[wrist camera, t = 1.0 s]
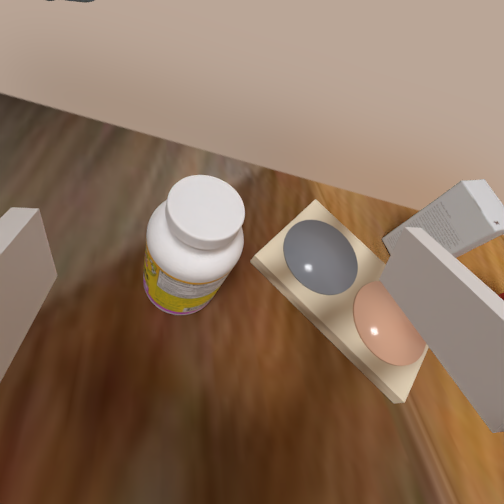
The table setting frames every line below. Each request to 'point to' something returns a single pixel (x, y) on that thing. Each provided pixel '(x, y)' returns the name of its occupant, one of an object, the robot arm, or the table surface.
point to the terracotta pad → (386, 326)
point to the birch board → (338, 305)
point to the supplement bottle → (192, 244)
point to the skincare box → (458, 218)
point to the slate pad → (320, 257)
